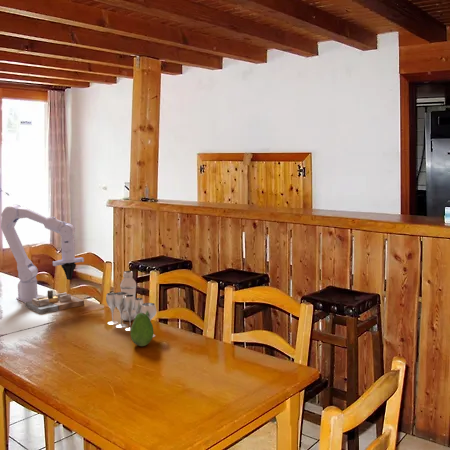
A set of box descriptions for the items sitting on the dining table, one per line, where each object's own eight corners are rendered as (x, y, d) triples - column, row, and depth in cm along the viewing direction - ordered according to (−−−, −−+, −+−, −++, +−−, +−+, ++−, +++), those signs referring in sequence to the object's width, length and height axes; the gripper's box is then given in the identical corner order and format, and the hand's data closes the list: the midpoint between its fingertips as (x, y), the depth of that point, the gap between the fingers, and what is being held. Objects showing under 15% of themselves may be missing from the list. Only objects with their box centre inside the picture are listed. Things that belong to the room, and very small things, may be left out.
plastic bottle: (139, 317, 225) (138, 270, 223) (134, 323, 219) (133, 273, 216) (123, 317, 226) (122, 269, 223) (119, 322, 219) (117, 273, 217)
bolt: (55, 300, 245) (55, 289, 244) (58, 301, 243) (57, 290, 242) (38, 303, 239) (38, 292, 239) (41, 304, 238) (40, 293, 237)
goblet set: (103, 323, 219) (102, 290, 217) (115, 320, 223) (114, 288, 221) (147, 339, 200) (147, 304, 198) (160, 335, 204) (159, 301, 202)
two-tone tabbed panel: (67, 298, 256) (67, 289, 255) (84, 304, 245) (83, 295, 244) (25, 306, 242) (24, 297, 241) (40, 314, 231) (39, 303, 230)
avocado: (143, 351, 188) (142, 317, 186) (126, 346, 192) (125, 313, 191) (158, 344, 195) (157, 311, 193) (141, 340, 199) (140, 308, 197)
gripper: (57, 253, 243) (58, 283, 245) (86, 249, 253) (87, 278, 255) (49, 251, 248) (51, 280, 250) (79, 247, 258) (80, 275, 260)
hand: (69, 279), depth 253 cm, fingers closed
